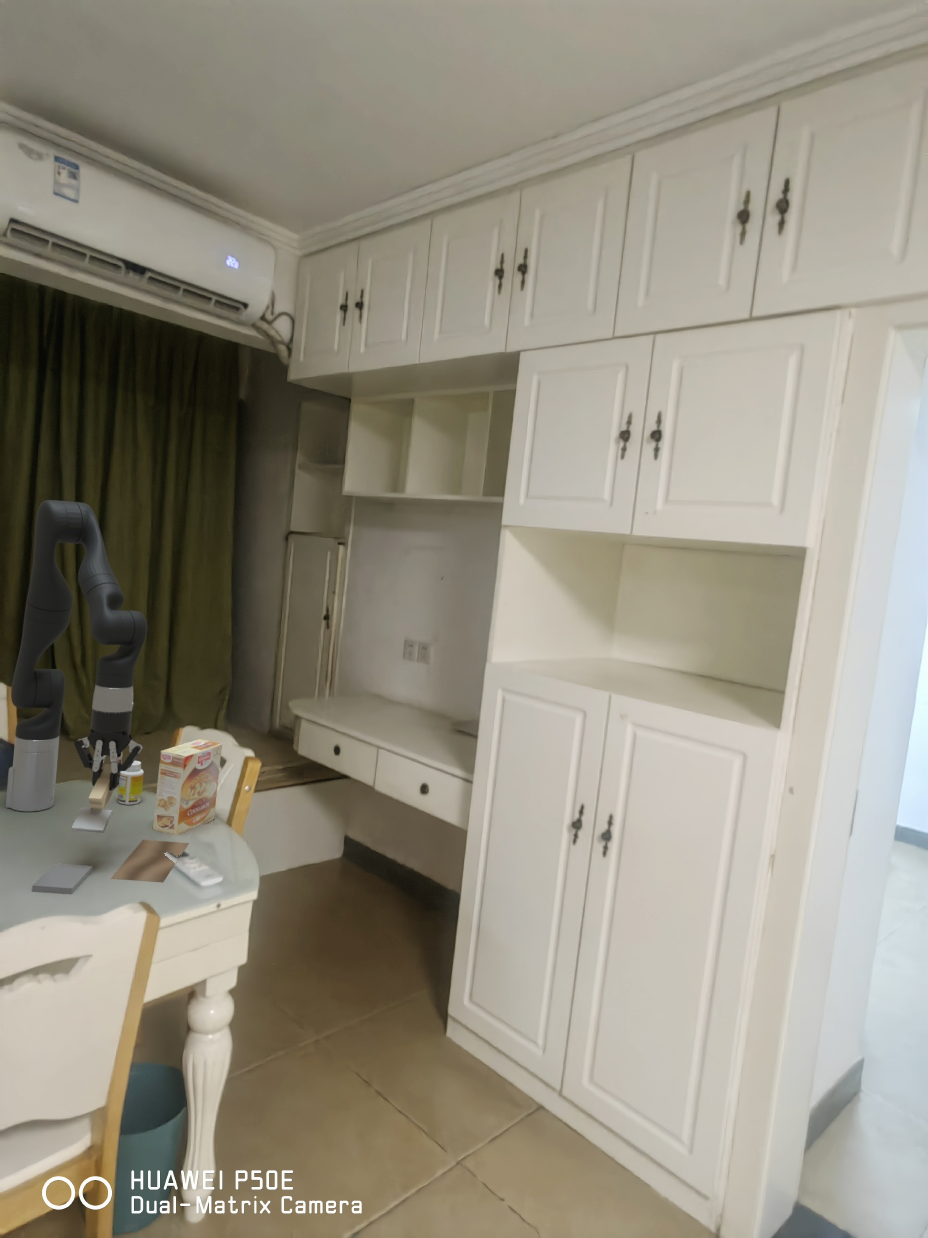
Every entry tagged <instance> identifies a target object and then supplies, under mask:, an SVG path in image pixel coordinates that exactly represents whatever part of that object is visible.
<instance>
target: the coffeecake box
mask: <svg viewBox="0 0 928 1238" xmlns="http://www.w3.org/2000/svg"><path fill="white" fill-rule="evenodd" d="M222 748H223V743H220V742H217V741H211V740H206V739H202V738H198V739H195V740H192V741H189V742H185V743H182V744H179V745H175V746H173V747H168V748H166V749H163V750H160V756H159V757H160V758H159V765H158V766H159V767H158V776H157V784H156V797H155V805H154V815H153V824H152V825H153V826H152V829H153V831H158V832H160V833H165V834H169V835H173V836H179V835H182V834H183V833H186V832H188V831H189V830H191V829H193V828H195V827H198V826H199V825H206V824H208V823H210V822H212V821H214V820H215V814H216V804H217V796H218V795H217V794H218V786H219V775H220V768H221V766H220V765H221V759H222V750H223V749H222ZM213 819H214V820H213Z"/></svg>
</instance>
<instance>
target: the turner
mask: <svg viewBox="0 0 928 1238" xmlns="http://www.w3.org/2000/svg"><path fill="white" fill-rule="evenodd" d="M102 769H103V771H102V773H101V775H100V777H99V779H98V780H97V782H96V784H95V786H93V787H92V790H91V791H90V794H89V796H88V803H89V807H82V806H81V808H80V809H79V812H78V813H77V816H76V817H75V820H74V822H73V824H72V826H71V830H72V831H76V832H77V831H79V832H88V833H99V834H100V833H101V834H104V832H105V831H106V828H107V826H108V824H109V822H110V819H111V817H112V815H113V813H114V812H113V809H106V808H107V805H108V803H109V800H110V799H111V797H112V794H113V792H114V790H113V791H111V790H109V785H110V773H111V772H112V771H111V763H105V764H103V767H102Z"/></svg>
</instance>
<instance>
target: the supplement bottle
mask: <svg viewBox="0 0 928 1238" xmlns="http://www.w3.org/2000/svg"><path fill="white" fill-rule="evenodd" d="M144 773H145V772H144V769H142V762H141V761H139V760H135V761H134V762H133V764H132V765H131V766H130V768H128V769H127V770H126V771H121V772H120V780H119V785H118V792H117V793H118V794H117V801H118V803H120V804H121V805H127V806H128V805H129V806H131V805H137V804H139V803H141V801H142V797H143V796H142V795H143V788H144V787H143V784H144Z"/></svg>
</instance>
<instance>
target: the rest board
mask: <svg viewBox="0 0 928 1238" xmlns="http://www.w3.org/2000/svg"><path fill="white" fill-rule="evenodd" d="M189 844H190V843H189V842H180V841H179V842H178V841H177V842H176V841H166V840H165V841H164V840H154V839H153V840H151V839H142V840H141V841H140V843H139V844H138V845H137V846H136V847H135V848H134V849H133V851H132V852H131V853H130V854H129V856H128V857H127V858H126V859H125V860H124V862H123V863H122V864H121V865H120V867H118V868H117V870H116V872H114V873H113V875H112V876H111V877H110V879H111V880H124V881H136V882H137V881H138V882H140V881H141V882H152V883H164V881H165V880H166V879H167V877H168V876H169V874H170V873H171V871H172V870H173V869H174V867H175V865H176V864H175V863H174V862H173V861H172V860H170V859H169V858H168V857H167V856H165V854H164V853H166V852H168V853H173V855H175V856H176V857H178V855H179V856H180V855H181V856H182V855H183V853H184V852H185V850H186V849H187V847H188V846H189ZM181 856H180V857H181Z"/></svg>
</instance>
